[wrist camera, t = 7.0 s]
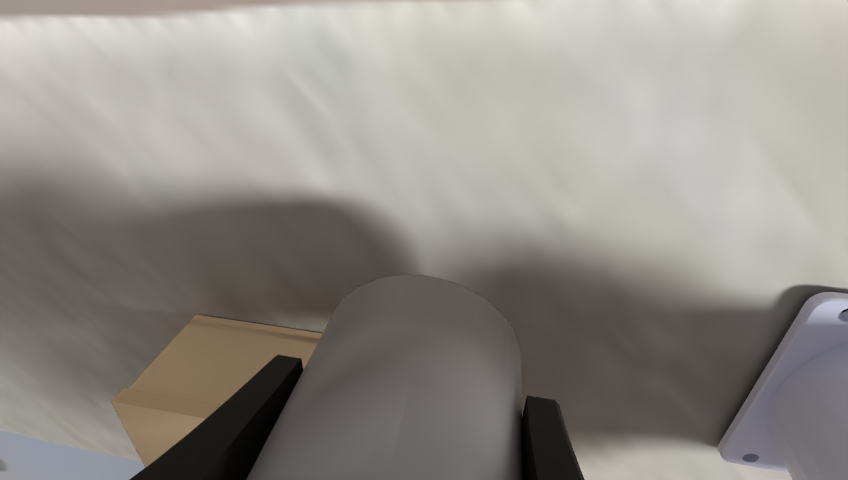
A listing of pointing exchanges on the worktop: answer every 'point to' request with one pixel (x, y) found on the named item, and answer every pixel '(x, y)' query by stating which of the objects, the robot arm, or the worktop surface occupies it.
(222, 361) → the carton box
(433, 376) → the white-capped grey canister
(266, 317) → the worktop surface
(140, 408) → the lid
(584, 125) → the worktop surface
